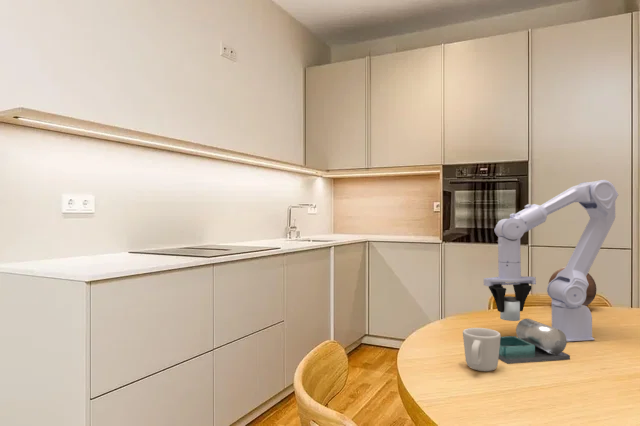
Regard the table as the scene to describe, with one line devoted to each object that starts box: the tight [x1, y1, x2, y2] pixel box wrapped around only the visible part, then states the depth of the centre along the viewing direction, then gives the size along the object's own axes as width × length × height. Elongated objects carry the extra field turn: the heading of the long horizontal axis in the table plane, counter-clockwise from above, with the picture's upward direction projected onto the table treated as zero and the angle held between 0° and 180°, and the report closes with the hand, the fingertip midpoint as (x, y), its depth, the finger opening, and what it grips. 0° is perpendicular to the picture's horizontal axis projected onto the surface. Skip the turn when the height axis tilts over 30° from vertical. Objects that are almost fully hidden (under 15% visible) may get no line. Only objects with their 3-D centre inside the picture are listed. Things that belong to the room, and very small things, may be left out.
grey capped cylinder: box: [499, 295, 521, 322], centre depth 124 cm, size 5×5×6 cm
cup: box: [462, 327, 502, 372], centre depth 99 cm, size 11×8×8 cm
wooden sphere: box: [548, 266, 597, 307], centre depth 161 cm, size 15×15×15 cm
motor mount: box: [498, 318, 571, 365], centre depth 110 cm, size 16×13×7 cm
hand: (510, 311), depth 124 cm, fingers closed on grey capped cylinder, 5 cm apart
